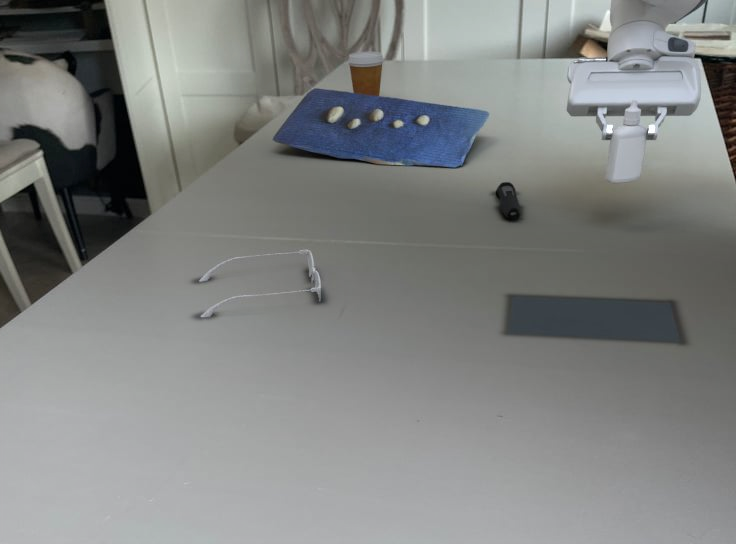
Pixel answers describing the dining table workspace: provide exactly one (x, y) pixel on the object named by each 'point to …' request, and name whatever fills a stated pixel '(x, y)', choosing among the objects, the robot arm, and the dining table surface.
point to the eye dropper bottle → (627, 148)
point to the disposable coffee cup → (366, 72)
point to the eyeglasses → (311, 272)
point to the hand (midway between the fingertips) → (629, 138)
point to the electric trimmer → (508, 200)
